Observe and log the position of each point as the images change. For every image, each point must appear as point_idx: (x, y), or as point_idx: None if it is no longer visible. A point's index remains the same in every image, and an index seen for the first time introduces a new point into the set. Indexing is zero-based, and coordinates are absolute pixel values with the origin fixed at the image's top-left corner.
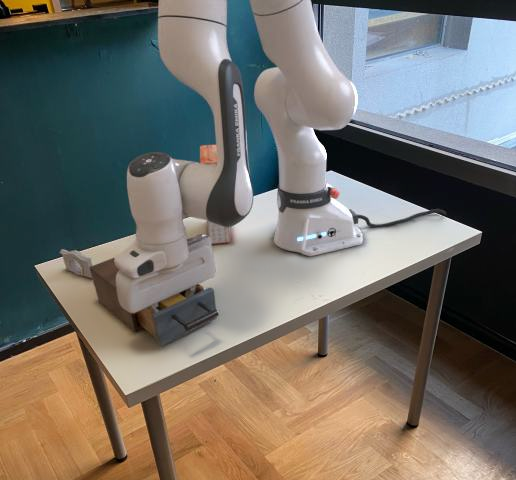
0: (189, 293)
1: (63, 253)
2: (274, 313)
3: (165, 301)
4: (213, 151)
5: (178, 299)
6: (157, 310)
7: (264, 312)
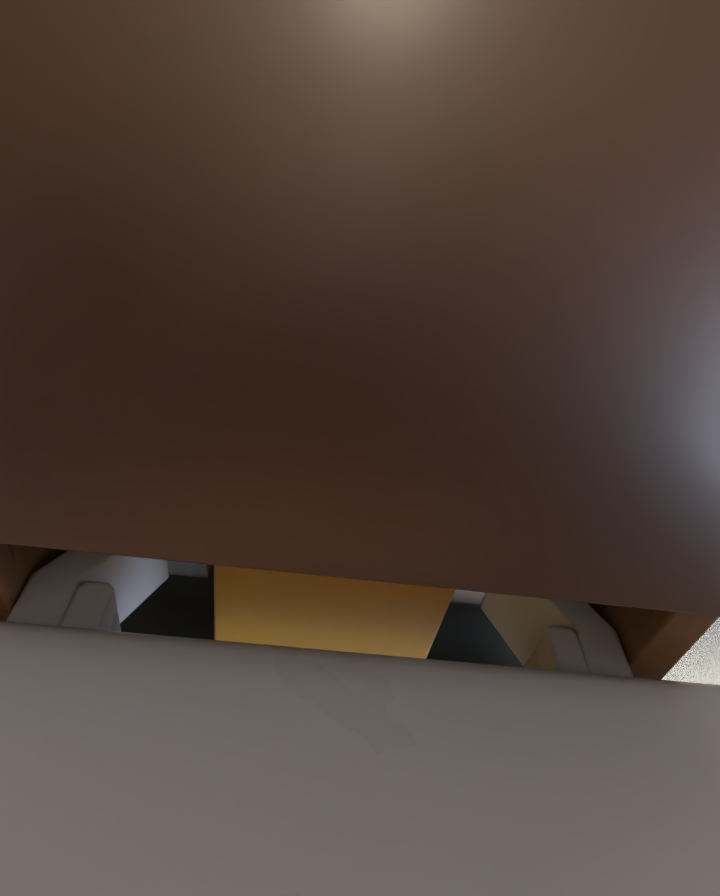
0: (517, 624)
1: None
2: (708, 670)
3: (255, 604)
4: None
5: (362, 649)
6: (125, 612)
7: (703, 645)
